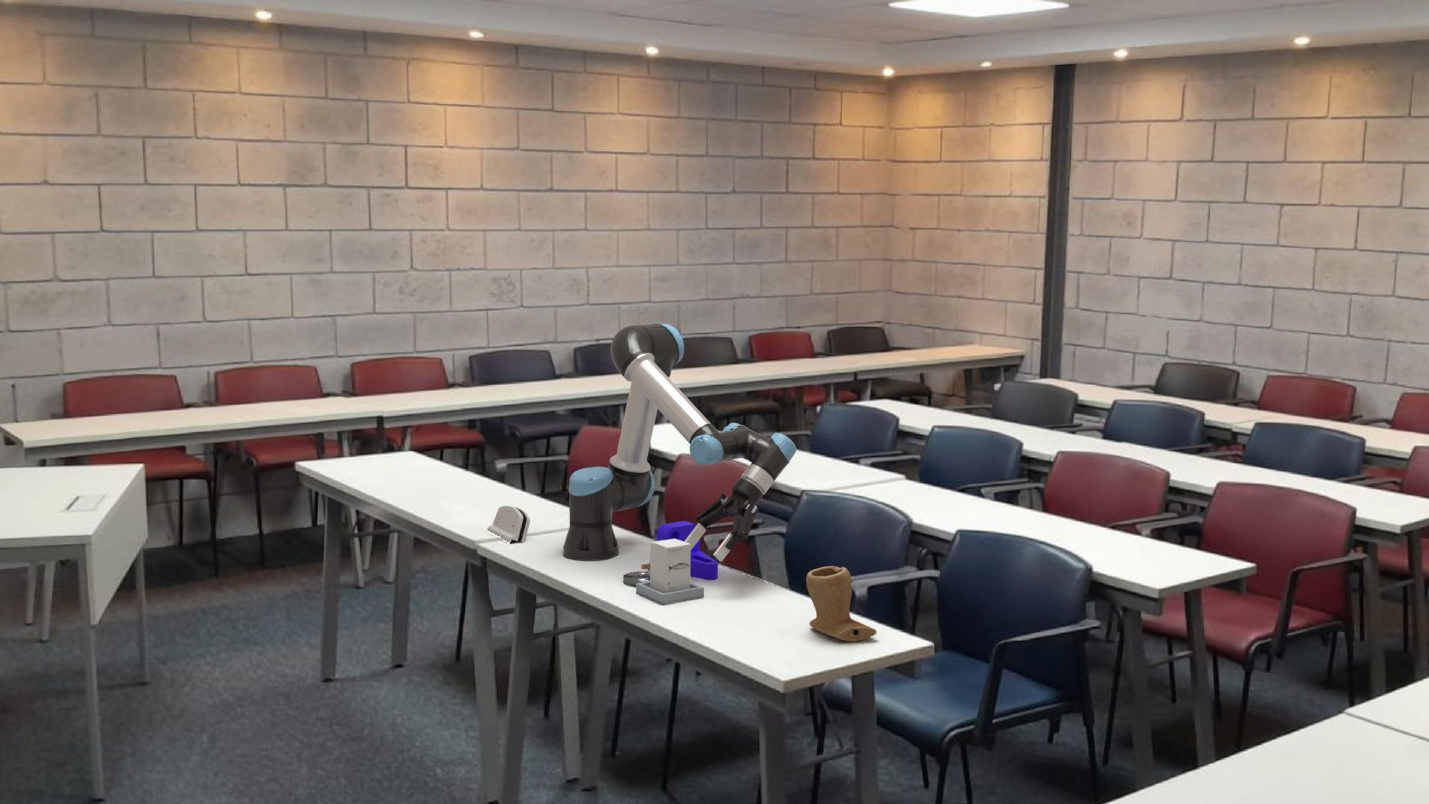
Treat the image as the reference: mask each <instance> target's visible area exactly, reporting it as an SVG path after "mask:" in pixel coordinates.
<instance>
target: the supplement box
mask: <svg viewBox="0 0 1429 804" xmlns="http://www.w3.org/2000/svg"><path fill="white" fill-rule="evenodd" d="M649 550H650V552H649V553H650V560H649V561H650V588H652V589H655V590H657V591H659V592H662V593H669V592H675V591H680V590H686V589H690V582H691V577H690V559H691V544H689V543H686V542H684V541H680V540H677V539H669V540H662V541H657V540H656V541H651V542H650V549H649Z"/></svg>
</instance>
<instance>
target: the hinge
mask: <svg viewBox="0 0 1429 804" xmlns="http://www.w3.org/2000/svg"><path fill="white" fill-rule="evenodd" d="M530 524H531V517H530V516H529V515H528V513H526V511H524V510H523V509H520V508H519V507H517V506H511V505H504V506H503V505H502V506H500V507H498V509H497V512H496V514H495V516H494V519H493V522H492V524H491V525H490V526H488V527H487V530H488V531H490V532H491V533H494V534H495V535H497V536H500V537H501V538H502V539H504V540H505V541H507V542H512V541H516V542H518V540H519V542H520V541H521V543H523V542H524V543H525V542H526V539H527V535H528V531H529V527H530ZM487 530H486V531H487Z"/></svg>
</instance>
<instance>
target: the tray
mask: <svg viewBox="0 0 1429 804" xmlns="http://www.w3.org/2000/svg"><path fill="white" fill-rule="evenodd" d="M635 594H637V595H638V594H639V595H638V596H640V597H643V598H645V597H646V598H645V599H648V600H650V601H652V602H654V603H657V604H659V605H661V606H666V605H671V604H676V603H677V604H678V603H682V602H688V601H693V600H698V599H703V598H702V597H704V598H705V586H701V585H700V584H696V583H694V582H691V581H690V589H686V590H680V591H675V592H669V593H662V592H659V591H657V590H655V589H652V588H650V581H648V582H642V583H637V584H636V587H635ZM687 600H688V601H687Z"/></svg>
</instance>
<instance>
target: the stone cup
mask: <svg viewBox="0 0 1429 804" xmlns="http://www.w3.org/2000/svg"><path fill="white" fill-rule="evenodd" d="M805 581H806V589H807V591H808V594H809V597H810V600H811V602H812V604H813V607H814V610H815V613H816V616H815V618H814V619H811V620H810V621H809V626H810V627H811V628H813V629H814V630H816V631H817V632H821V633H822V634H825V635H828V636H829V637H833V638H835V639H839V640H842V641H846V642H851V643H853V642H860V641H864V640H867V639H870V638H872V637H874V636H875V635H876V634H877V633H878V630H876V629H875V628H872V627H870V626H868V625H866V624H864V623H863V622H860V621H857V620H855V619H853V618H852V617H851V613H850V609H851V608H850V607H851V600H852V594H853V588H852V587H853V586H852V578H851V573H850V571H849V570H848V568H846V567H844V566H842V567H839V566H834V565H830V566H821V567H819V568H815V569H812V570H810V571H809V572H808V573H807V574H806V580H805Z"/></svg>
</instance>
